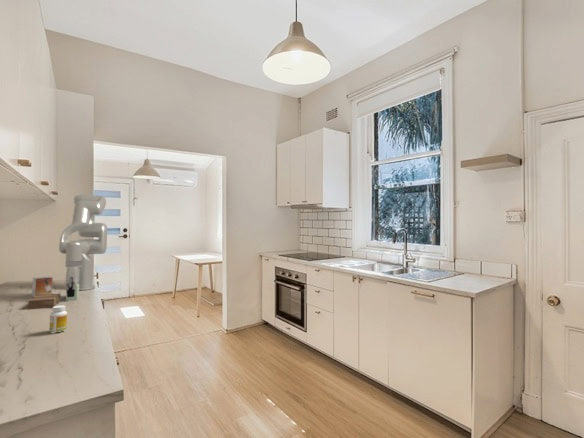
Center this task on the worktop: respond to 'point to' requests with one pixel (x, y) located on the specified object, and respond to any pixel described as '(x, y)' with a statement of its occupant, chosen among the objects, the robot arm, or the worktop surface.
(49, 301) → the walnut base
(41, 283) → the small box
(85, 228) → the robot arm
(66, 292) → the sage block
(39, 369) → the worktop surface
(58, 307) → the supplement bottle
